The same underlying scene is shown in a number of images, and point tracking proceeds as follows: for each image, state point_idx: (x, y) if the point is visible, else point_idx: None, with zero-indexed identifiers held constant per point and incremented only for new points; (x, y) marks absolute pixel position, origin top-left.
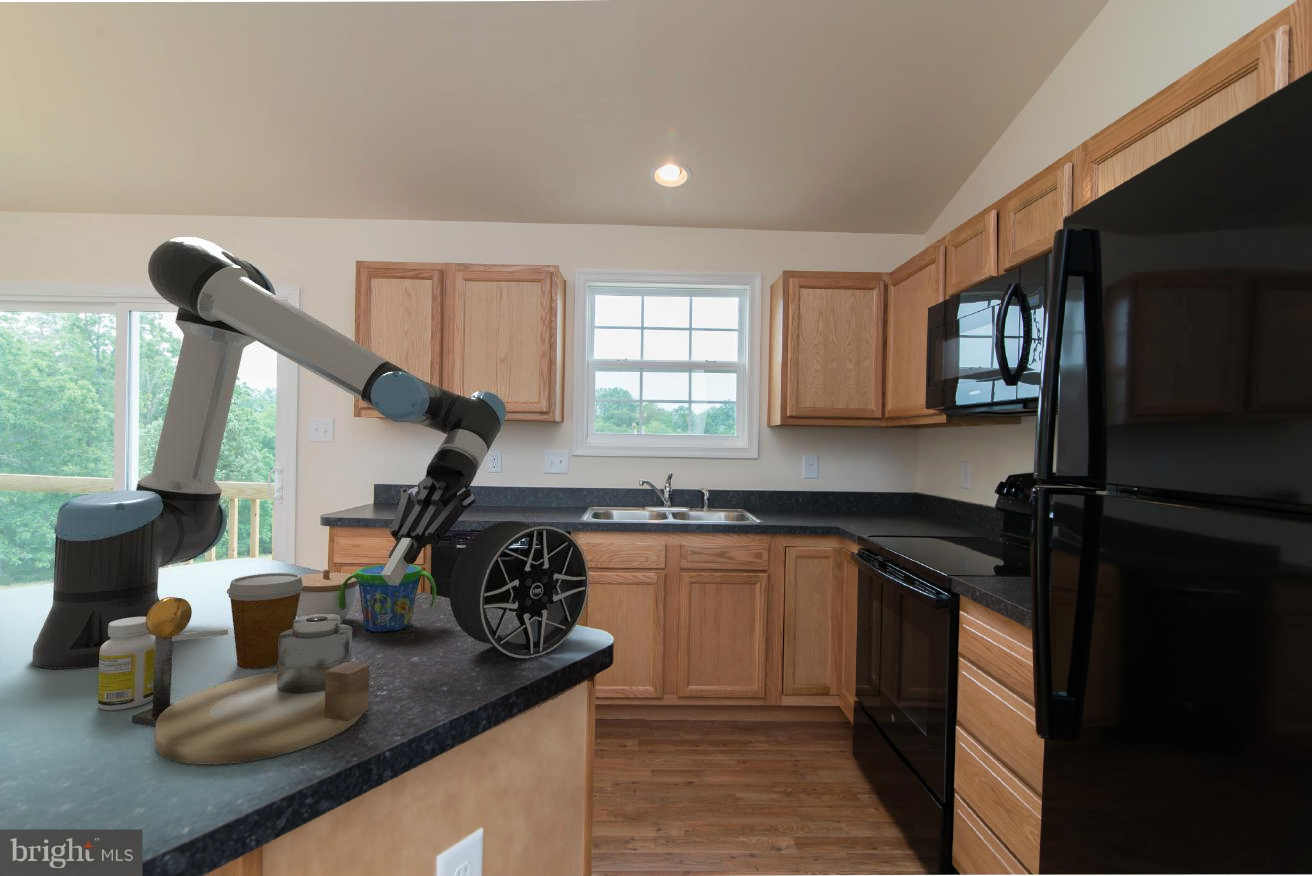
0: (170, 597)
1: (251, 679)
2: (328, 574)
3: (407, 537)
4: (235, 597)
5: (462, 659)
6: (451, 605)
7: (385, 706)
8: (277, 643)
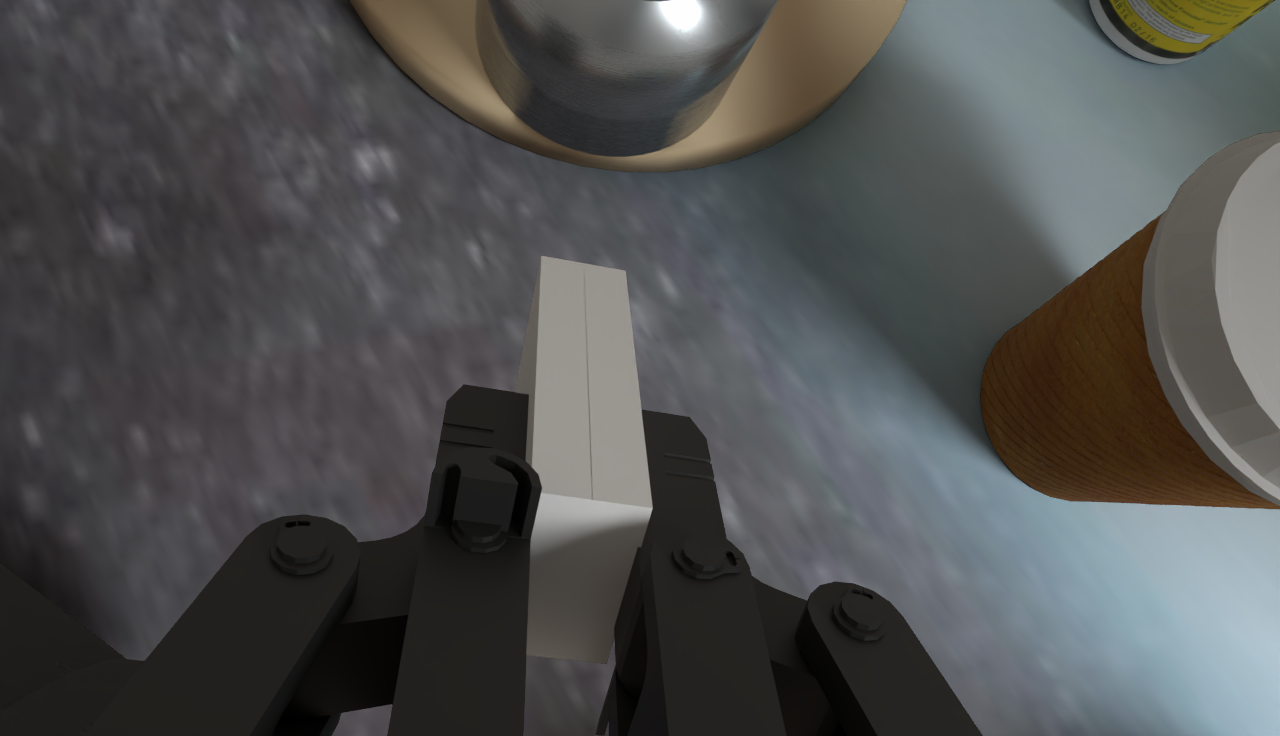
0: None
1: (848, 31)
2: None
3: (637, 609)
4: None
5: (173, 624)
6: None
7: (288, 39)
8: (1029, 336)
